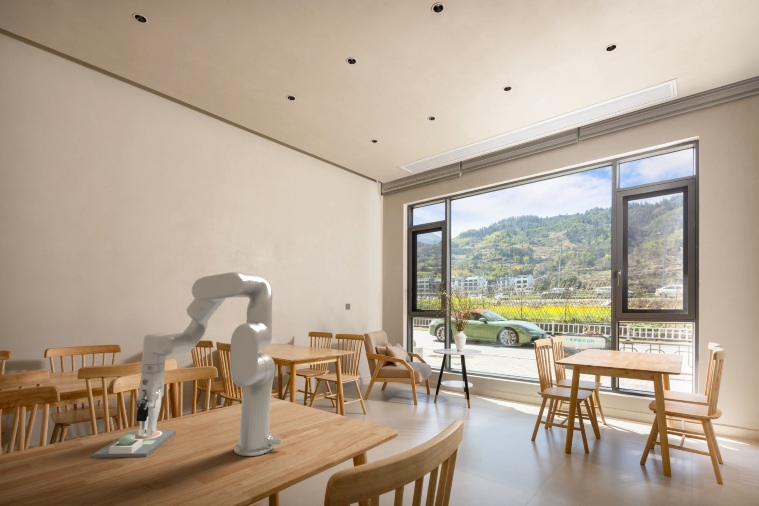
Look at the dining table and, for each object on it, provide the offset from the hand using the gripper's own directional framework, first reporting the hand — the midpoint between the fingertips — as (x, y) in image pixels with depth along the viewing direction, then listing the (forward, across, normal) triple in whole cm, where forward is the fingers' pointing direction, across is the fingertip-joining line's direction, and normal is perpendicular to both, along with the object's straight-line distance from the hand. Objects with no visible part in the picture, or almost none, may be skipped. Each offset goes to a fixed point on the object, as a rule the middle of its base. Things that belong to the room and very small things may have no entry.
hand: (148, 416), depth 141 cm
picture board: (+7, -6, 0) cm, 9 cm away
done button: (+4, -14, 0) cm, 14 cm away
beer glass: (+6, 0, 0) cm, 6 cm away
